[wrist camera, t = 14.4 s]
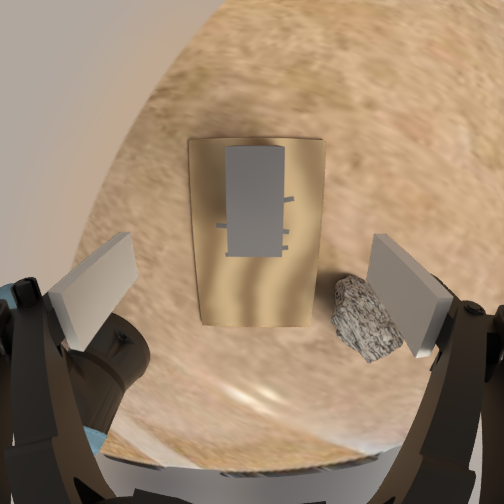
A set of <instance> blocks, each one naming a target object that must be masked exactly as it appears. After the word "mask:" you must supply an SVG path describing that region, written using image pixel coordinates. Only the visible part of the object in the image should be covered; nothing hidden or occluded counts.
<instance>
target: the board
mask: <svg viewBox="0 0 504 504" xmlns="http://www.w3.org/2000/svg"><path fill="white" fill-rule="evenodd" d="M233 145H279V146H284V147H285V179H284V216H283V244H282V257H228V246H227V216H226V175H225V147H226V146H233ZM325 155H326V140H311V139H292V138H213V139H194V140H189V169H190V191H191V209H192V225H193V238H194V251H195V262H196V273H197V283H198V293H199V302H200V311H201V319H202V325H210V326H236V327H310V324H311V317H312V309H313V302H314V294H315V285H316V277H317V268H318V258H319V248H320V237H321V225H322V212H323V197H324V179H325Z"/></svg>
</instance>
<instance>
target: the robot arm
mask: <svg viewBox="0 0 504 504" xmlns="http://www.w3.org/2000/svg"><path fill="white" fill-rule="evenodd" d="M137 278H138V273H137V268H136V262H135V256H134V251H133V244H132V238H131V232H119V233H118V234H116V235H115V236H114V237H112V238H111V239H110V240H109V241H107V242H106V243H105V244H103V245H102V246H101V247H100V248H98V249H97V250H96V251H95V252H93V253H92V254H91V255H90V256H88V257H87V258H86V259H85V260H83V261H82V262H81V263H80V264H79V265H77V266H76V267H75V268H74V269H73V270H72V271H70V272H69V273H68V274H67V275H66V276H65V277H63V278H62V279H61V280H60V281H59V282H58V283H57V284H55V285H54V286H53V287H52V288H51V289H50V290H49V291H48V292H47V293H46V294H45V295H43V296H42V295H41V292H40V289H39V286H38V283H37V280H36V278H34V277H28V278H24V279H22V280H19V281H17V282H16V283H14V284H13V283H12V284H7V285H4V286H3V287H0V504H11V493H12V497H13V501H14V504H192V503H189V502H187V501H184V500H182V499H179V498H175V497H170V496H165V495H160V494H156V493H151V492H147V491H143V490H139V489H135V491H134V494H133V496H128V497H116V495H115V494H114V492H113V491H112V490H111V489H110V487H109V486H108V485H107V483H106V481H105V480H104V478H103V476H102V473H101V471H100V469H99V467H98V464H97V462H96V459H95V457H94V455H96V454H97V453H98V452H99V451H100V449H101V447H102V445H103V443H104V441H105V439H107V434H108V431H109V429H110V426H111V424H112V421H113V419H114V417H115V414H116V412H117V410H118V407H119V405H120V403H121V400H122V398H123V396H124V393H125V391H126V390H127V389H128V388H129V387H130V386H131V385H132V384H133V383H134V382H135V381H136V380H137V379H138V378H140V377H141V376H142V375H143V374H144V373H145V371H146V369H147V366H148V364H149V361H150V351H149V348H148V345H147V343H146V341H145V340H144V338H143V337H142V335H141V334H140V333H139V332H138V331H137V330H136V329H135V328H134V327H133V326H132V325H131V324H130V323H128V322H127V321H126V320H124V319H122V318H121V317H119V316H117V315H115V314H112V313H111V312H112V311H113V310H114V308H115V307H116V306H117V304H118V303H119V302H120V300H121V299H122V298H123V296H124V295H125V294H126V292H127V291H128V290H129V288H130V287H131V286H132V285H133V283H134V282H135V281H136V280H137ZM366 280H367V281H368V283H369V284H370V286H371V287H372V289H373V290H374V292H375V293H376V295H377V296H378V298H379V300H380V301H381V303H382V304H383V306H384V307H385V309H386V310H387V312H388V314H389V315H390V317H391V318H392V320H393V322H394V323H395V325H396V327H397V328H398V330H399V331H400V333H401V335H402V336H403V338H404V340H405V341H406V343H407V345H408V347H409V348H410V350H411V352H412V353H413V355H414V357H415V358H420V357H425V356H430V355H431V352H432V350H433V348H434V346H435V344H436V345H437V346H438V348H439V349H440V350H439V352H438V354H437V356H436V358H435V361H434V363H433V365H432V366H431V368H430V371H432V373H431V376H430V379H429V382H428V385H427V388H426V391H425V393H424V396H423V399H422V401H421V404H420V407H419V409H418V412H417V414H416V417H415V419H414V421H413V424H412V426H411V428H410V430H409V433H408V435H407V437H406V439H405V441H404V443H403V445H402V448H401V450H400V451H399V453H398V455H397V458H396V459H395V461H394V463H393V465H392V467H391V469H390V470H389V472H388V474H387V476H386V477H385V479H384V481H383V483H382V484H381V486H380V487H379V489H378V490H377V492H376V494H375V495H374V496H373V497H372V499H371V500H370V501H369V502H368V503H367V504H468V502H469V499H470V496H471V493H472V490H473V487H474V484H475V479H476V474H475V471H471V470H469V462H470V459H471V455H472V451H473V447H474V443H475V438H476V433H477V429H478V423H479V418H480V413H481V419H482V444H483V454H482V459H483V460H482V479H481V491H480V500H479V504H504V305H500V306H499V307H498V309H497V312H496V314H495V315H487V314H486V312H485V310H484V309H483V308H482V307H481V306H480V305H479V304H477V303H475V302H472V301H468V300H466V301H461V300H460V299H459V298H458V297H457V296H456V295H455V294H454V293H453V292H452V291H451V290H450V289H448V287H447V286H446V285H445V284H443V282H442V281H441V280H439V279H438V278H437V277H436V276H434V275H432V274H430V273H429V272H428V271H427V270H426V269H425V268H424V267H423V266H422V265H420V264H419V263H418V262H417V261H416V260H415V259H414V258H413V257H412V256H411V255H410V254H408V253H407V252H406V251H405V250H404V249H403V248H402V247H401V246H399V245H398V244H397V243H396V242H395V241H394V240H393V239H391V238H390V237H389V236H388V235H387V234H374V237H373V243H372V250H371V256H370V262H369V268H368V273H367V278H366ZM64 338H66V341H67V343H68V345H69V350H68V352H67V350H66V349H65V348H64V347H63V346H62V344H61V342H62V341H63V339H64ZM502 357H503V359H502ZM501 359H502V360H501ZM13 432H14V440H15V446H12V442H13ZM304 504H326V501H323V502H315V503H304Z"/></svg>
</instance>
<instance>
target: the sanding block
mask: <svg viewBox="0 0 504 504" xmlns="http://www.w3.org/2000/svg"><path fill="white" fill-rule="evenodd" d="M225 175H226V216H227V246H228V257H282V244H283V216H284V179H285V147H284V146H279V145H233V146H226V147H225Z"/></svg>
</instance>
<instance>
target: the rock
mask: <svg viewBox="0 0 504 504" xmlns="http://www.w3.org/2000/svg"><path fill="white" fill-rule="evenodd" d="M334 301H335V302H334V310H333V314H332V317H331V322H332V323H333V324H334V325H335V327H336V328H337V330H336V334H337V336H338V337H339V338H340V339H341V340H342V341H343V342H345V343H346V344H347V345H348V346H349V347H352V348H353V349H354V350H357V351H358V352H359V353H360V354H361V355H362V357H363V358H364V359H365V360H366V361H367V363H371V362H372V361H376V360H378V359H380V358H383V357H384V356H387V355H389V354H390V353H391V352H392V351H394V350H395V349H396V348H399V347H401V345H402V344H403V341H404V340H403V339H404V338H403V336H402V335H401V333H400V331H399V330H398V328H397V327H396V325H395V323H394V322H393V320H392V318H391V317H390V315H389V314H388V312H387V310H386V309H385V307H384V306H383V304H382V303H381V301H380V300H379V298H378V296H377V295H376V293H375V292H374V290H373V289H372V287H371V286H370V284H368V283H367V282H365V281H364V280H362V279H359V278H358V277H357V276H350V275H349V276H347V277H346V278H345V279H342V280H339V281H338V282H337V283H336V286H335V293H334Z"/></svg>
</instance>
